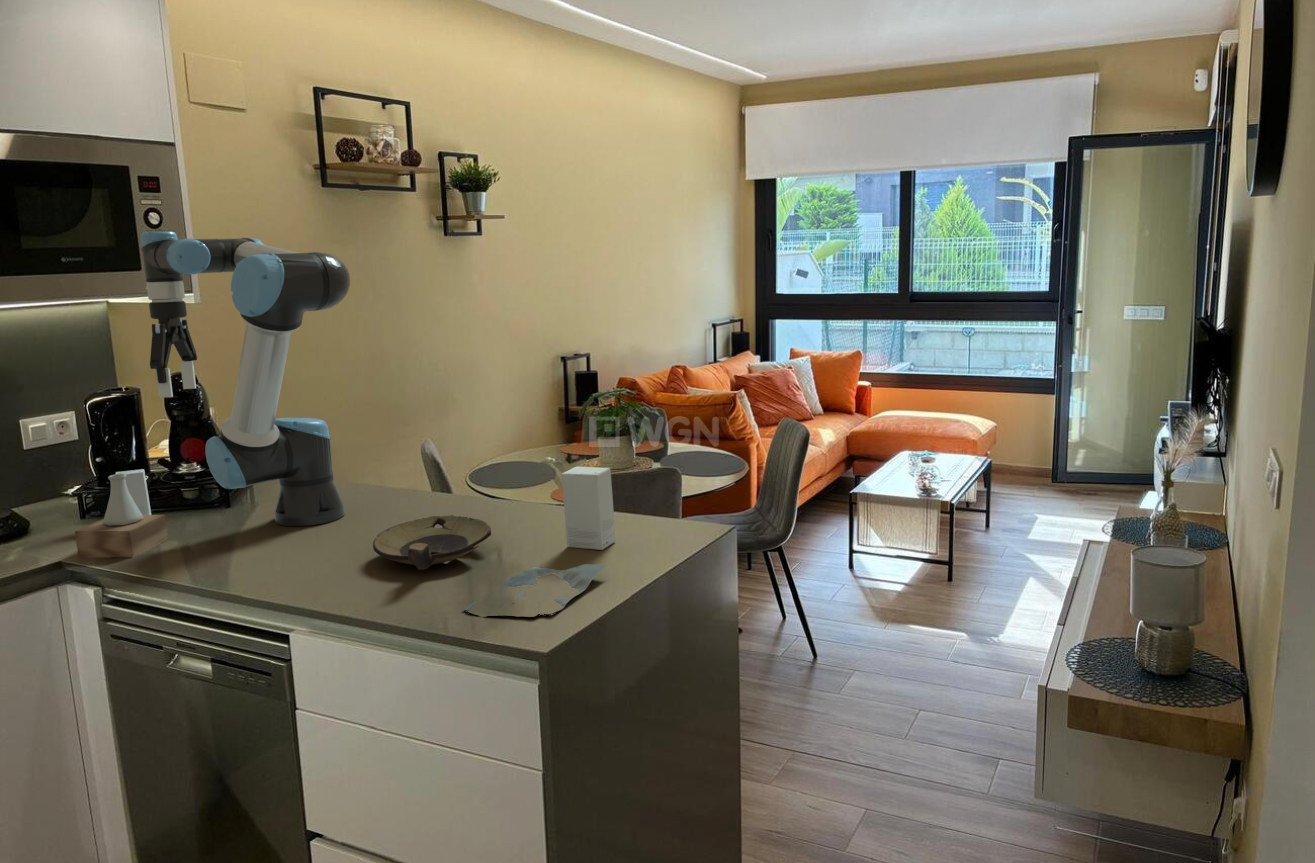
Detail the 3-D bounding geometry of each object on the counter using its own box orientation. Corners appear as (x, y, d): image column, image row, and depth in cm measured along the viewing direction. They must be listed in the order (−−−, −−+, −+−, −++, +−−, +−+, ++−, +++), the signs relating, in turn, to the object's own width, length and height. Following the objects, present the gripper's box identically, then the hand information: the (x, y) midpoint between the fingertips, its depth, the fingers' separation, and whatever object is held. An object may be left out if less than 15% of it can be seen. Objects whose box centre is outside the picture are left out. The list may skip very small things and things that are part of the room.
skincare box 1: (152, 518, 230) (145, 468, 228) (151, 523, 226) (144, 471, 224) (122, 522, 228) (115, 471, 225) (120, 527, 224) (113, 475, 221)
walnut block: (168, 541, 212) (164, 514, 211) (133, 559, 201) (129, 530, 199) (116, 541, 214) (112, 515, 213) (78, 559, 202) (74, 531, 201)
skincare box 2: (616, 542, 200) (613, 467, 197) (601, 551, 194) (597, 474, 192) (580, 538, 204) (576, 464, 201) (564, 547, 198) (560, 471, 195)
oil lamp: (512, 542, 203) (510, 506, 201) (436, 592, 175) (432, 550, 173) (417, 536, 210) (415, 501, 208) (329, 582, 182) (325, 542, 180)
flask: (150, 518, 209) (144, 472, 207) (124, 527, 202) (117, 480, 200) (123, 516, 211) (116, 471, 209) (95, 526, 204) (88, 479, 202)
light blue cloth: (543, 634, 158) (541, 621, 157) (459, 624, 164) (457, 611, 164) (609, 576, 180) (607, 564, 179) (533, 569, 186) (531, 558, 185)
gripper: (172, 298, 237) (183, 385, 241) (124, 304, 212) (137, 401, 216) (204, 297, 237) (214, 384, 241) (160, 303, 213) (172, 400, 217)
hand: (178, 392), depth 229 cm, fingers open, 13 cm apart
